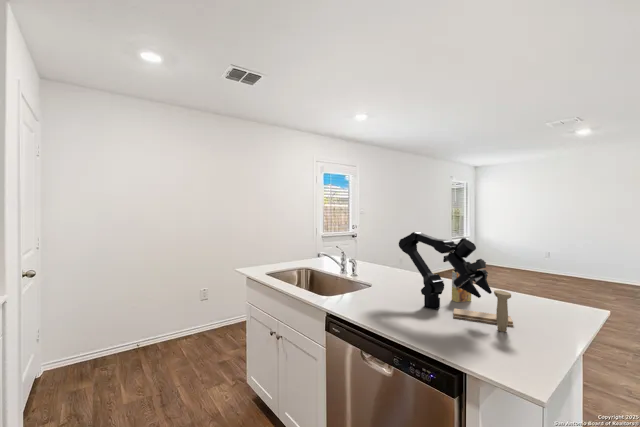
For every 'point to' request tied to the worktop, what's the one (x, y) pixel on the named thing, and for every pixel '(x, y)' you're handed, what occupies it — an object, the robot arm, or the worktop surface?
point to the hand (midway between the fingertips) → (485, 295)
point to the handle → (502, 309)
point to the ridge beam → (478, 316)
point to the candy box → (459, 291)
